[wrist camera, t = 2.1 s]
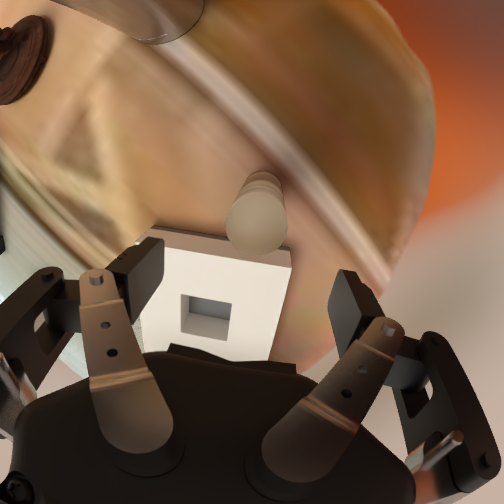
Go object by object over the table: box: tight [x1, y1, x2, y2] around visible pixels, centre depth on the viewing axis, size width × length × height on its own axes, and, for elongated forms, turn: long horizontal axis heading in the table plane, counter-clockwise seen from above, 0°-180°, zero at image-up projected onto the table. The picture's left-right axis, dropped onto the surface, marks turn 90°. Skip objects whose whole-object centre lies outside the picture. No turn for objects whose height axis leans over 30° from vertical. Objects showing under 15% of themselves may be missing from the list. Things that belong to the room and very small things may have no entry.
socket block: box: [135, 226, 292, 361], centre depth 32 cm, size 16×16×5 cm
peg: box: [225, 171, 288, 256], centre depth 23 cm, size 4×4×12 cm
